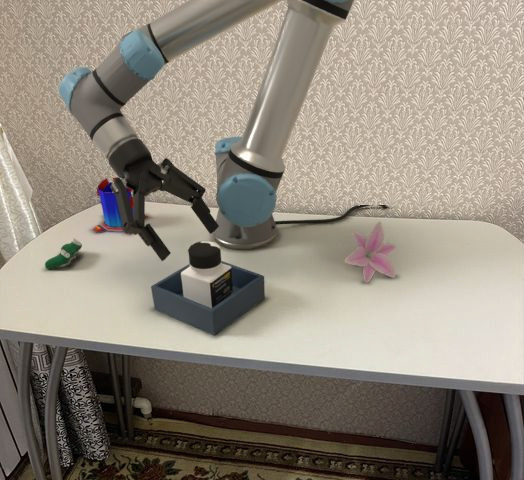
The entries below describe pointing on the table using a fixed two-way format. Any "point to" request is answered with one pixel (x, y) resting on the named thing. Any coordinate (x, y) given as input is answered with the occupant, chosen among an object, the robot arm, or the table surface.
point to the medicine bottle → (206, 275)
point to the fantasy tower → (111, 208)
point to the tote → (200, 316)
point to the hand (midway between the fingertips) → (191, 243)
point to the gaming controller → (64, 255)
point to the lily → (372, 253)
